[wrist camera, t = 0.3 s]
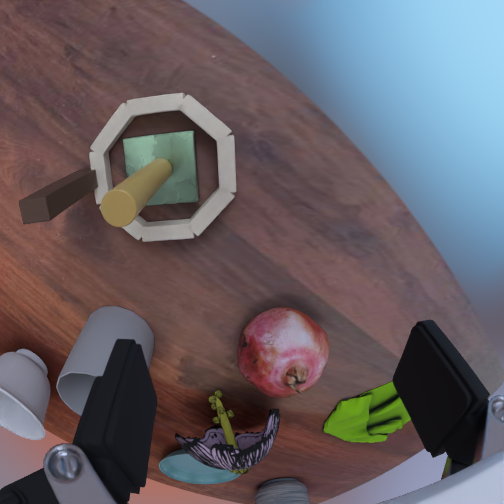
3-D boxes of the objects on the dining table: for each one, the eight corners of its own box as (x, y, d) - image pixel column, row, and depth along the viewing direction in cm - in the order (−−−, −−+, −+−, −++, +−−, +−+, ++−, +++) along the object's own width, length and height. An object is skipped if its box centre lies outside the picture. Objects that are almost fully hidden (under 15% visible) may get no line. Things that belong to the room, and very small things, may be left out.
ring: (232, 90, 23) (236, 74, 14) (237, 230, 28) (244, 288, 19) (73, 113, 22) (6, 120, 13) (92, 240, 27) (45, 295, 18)
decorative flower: (188, 488, 33) (188, 480, 23) (169, 419, 41) (163, 382, 31) (283, 465, 38) (318, 444, 29) (258, 402, 46) (282, 360, 36)
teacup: (-9, 361, 34) (-34, 403, 25) (10, 315, 30) (-26, 365, 21) (47, 405, 38) (29, 450, 29) (78, 371, 35) (56, 428, 26)
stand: (126, 137, 24) (58, 159, 13) (195, 129, 24) (170, 141, 13) (134, 203, 26) (80, 265, 15) (199, 198, 27) (182, 259, 16)
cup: (99, 293, 30) (64, 357, 21) (166, 328, 32) (151, 399, 23) (80, 340, 32) (52, 401, 23) (138, 370, 35) (123, 435, 26)
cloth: (324, 397, 40) (328, 409, 38) (449, 359, 40) (456, 369, 38) (319, 455, 49) (321, 465, 46) (419, 425, 49) (423, 433, 47)
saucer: (174, 474, 49) (173, 484, 46) (148, 441, 42) (146, 453, 40) (246, 471, 49) (247, 482, 47) (234, 438, 43) (235, 451, 40)
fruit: (267, 369, 36) (279, 437, 27) (217, 323, 32) (217, 396, 23) (332, 332, 34) (360, 396, 25) (289, 277, 31) (314, 344, 22)
